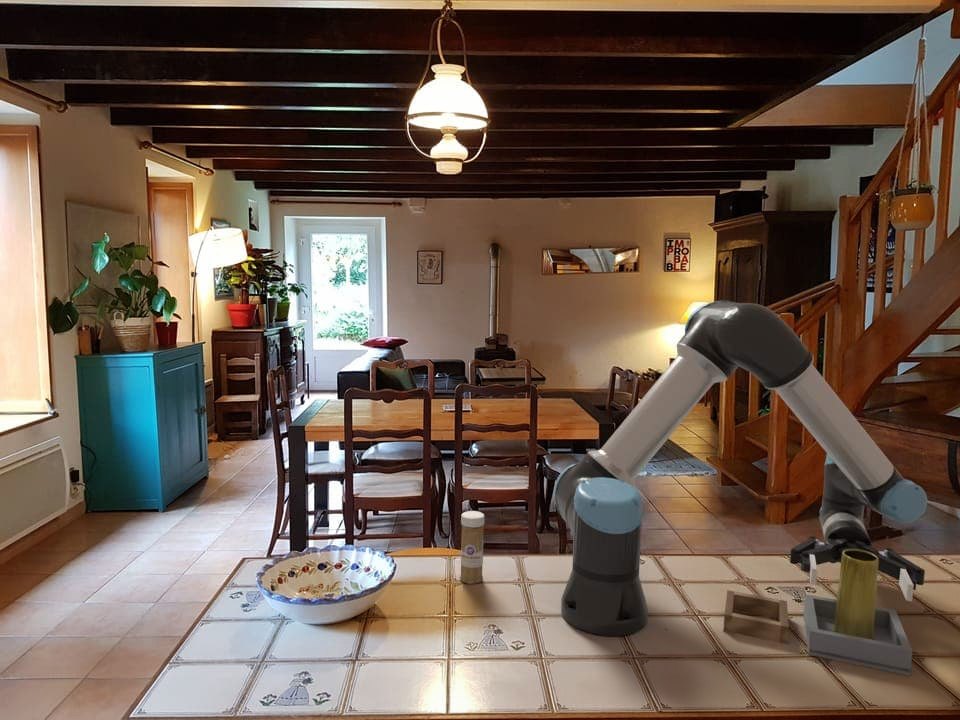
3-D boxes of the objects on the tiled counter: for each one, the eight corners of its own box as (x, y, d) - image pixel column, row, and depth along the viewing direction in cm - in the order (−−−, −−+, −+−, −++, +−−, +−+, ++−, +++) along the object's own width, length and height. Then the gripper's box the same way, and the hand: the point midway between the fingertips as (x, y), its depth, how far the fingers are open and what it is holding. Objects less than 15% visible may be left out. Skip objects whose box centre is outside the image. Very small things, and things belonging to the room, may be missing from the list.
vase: (872, 633, 113) (880, 552, 111) (875, 650, 107) (883, 565, 105) (832, 624, 115) (838, 545, 114) (832, 641, 110) (839, 558, 108)
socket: (723, 631, 114) (724, 614, 114) (726, 605, 123) (727, 590, 123) (787, 644, 110) (788, 627, 110) (785, 616, 120) (786, 601, 119)
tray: (808, 654, 107) (810, 631, 107) (803, 615, 120) (805, 594, 120) (909, 675, 102) (912, 651, 102) (893, 632, 115) (895, 610, 114)
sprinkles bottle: (460, 585, 130) (461, 518, 128) (459, 574, 134) (460, 510, 133) (484, 584, 130) (485, 518, 129) (482, 574, 135) (483, 509, 133)
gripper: (921, 570, 123) (950, 623, 104) (773, 546, 133) (775, 591, 113) (925, 530, 122) (955, 577, 103) (776, 510, 132) (778, 549, 112)
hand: (860, 584), depth 108 cm, fingers open, 13 cm apart
